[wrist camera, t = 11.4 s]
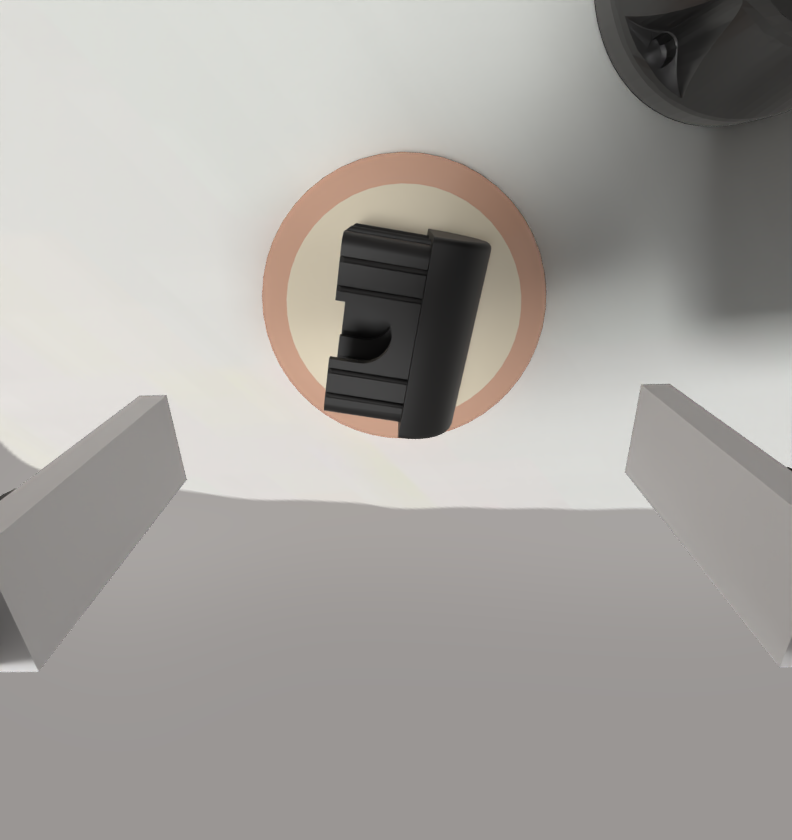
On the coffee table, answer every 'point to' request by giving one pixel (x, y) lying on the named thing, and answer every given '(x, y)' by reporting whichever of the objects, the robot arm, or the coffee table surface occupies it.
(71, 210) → the coffee table surface
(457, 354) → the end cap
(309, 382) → the plate
